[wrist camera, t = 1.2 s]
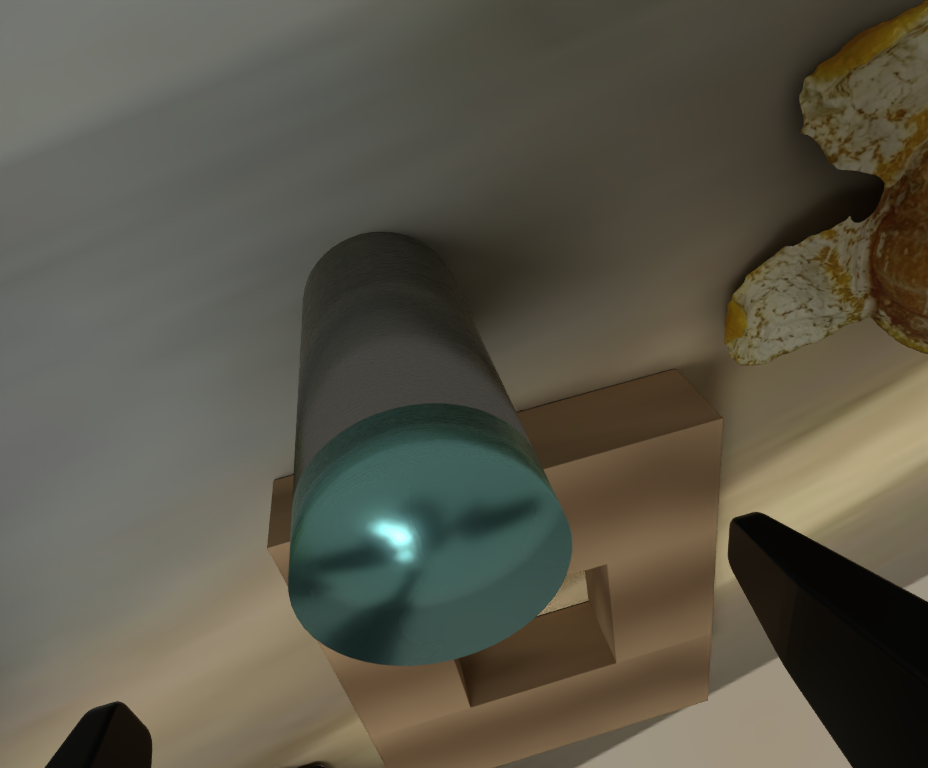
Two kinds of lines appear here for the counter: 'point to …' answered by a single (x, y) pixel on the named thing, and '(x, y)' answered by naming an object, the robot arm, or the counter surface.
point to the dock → (585, 625)
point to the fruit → (850, 244)
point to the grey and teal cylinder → (411, 469)
